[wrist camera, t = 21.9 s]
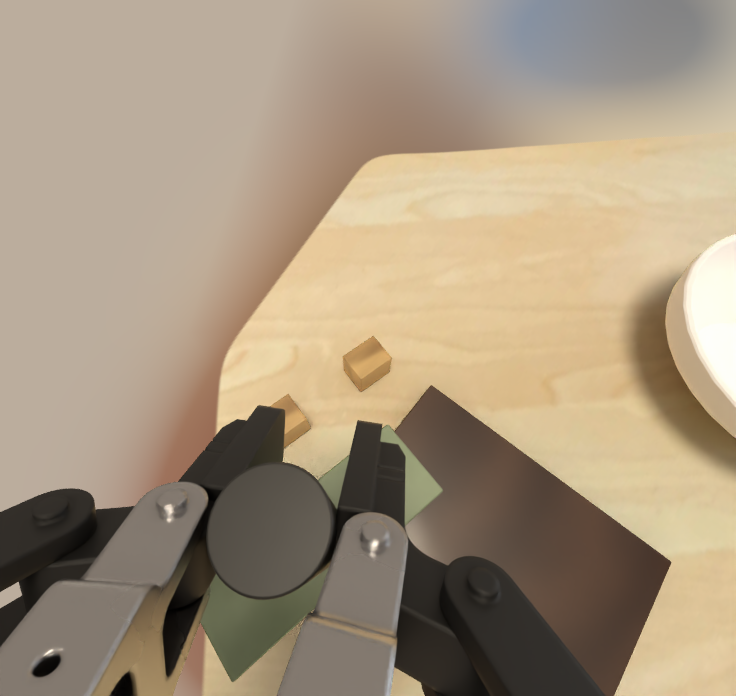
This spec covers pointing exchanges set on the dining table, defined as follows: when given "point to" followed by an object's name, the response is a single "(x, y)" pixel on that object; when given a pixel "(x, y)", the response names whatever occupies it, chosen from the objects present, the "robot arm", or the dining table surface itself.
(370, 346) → the crumb
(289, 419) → the crumb
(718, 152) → the dining table surface
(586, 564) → the tray
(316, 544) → the brush
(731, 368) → the bowl
